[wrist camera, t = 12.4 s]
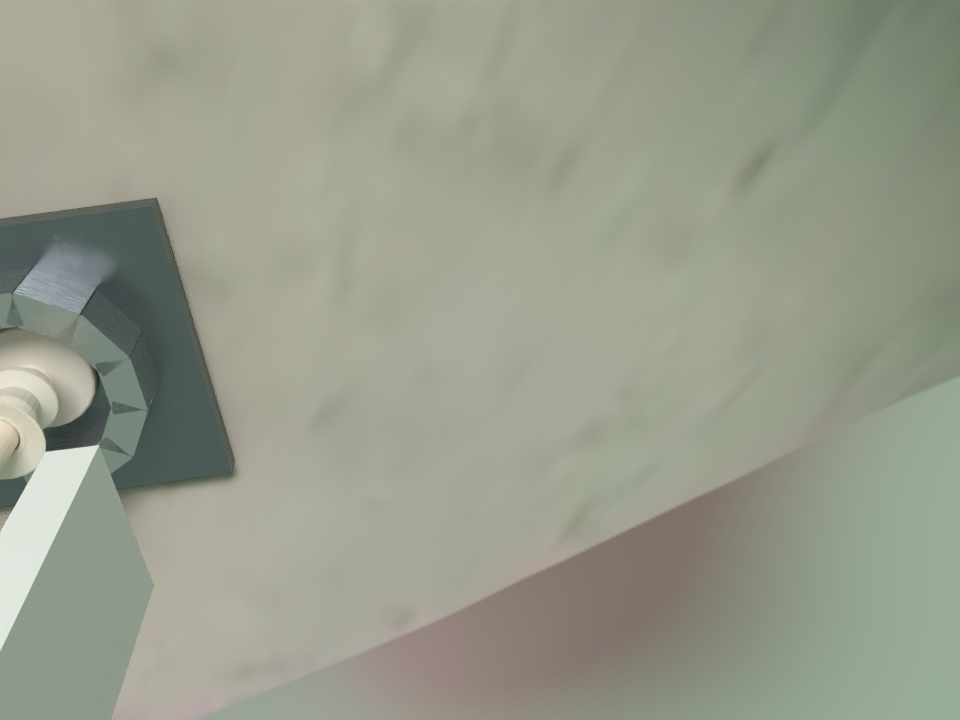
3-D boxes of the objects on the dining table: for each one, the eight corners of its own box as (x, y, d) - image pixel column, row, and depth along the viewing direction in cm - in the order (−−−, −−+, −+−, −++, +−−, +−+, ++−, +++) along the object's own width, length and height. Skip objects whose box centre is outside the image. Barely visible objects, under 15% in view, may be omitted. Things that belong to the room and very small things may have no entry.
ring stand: (-176, 242, 38) (-223, 276, 35) (156, 197, 39) (138, 226, 36) (-46, 502, 45) (-76, 548, 42) (234, 460, 46) (225, 504, 43)
